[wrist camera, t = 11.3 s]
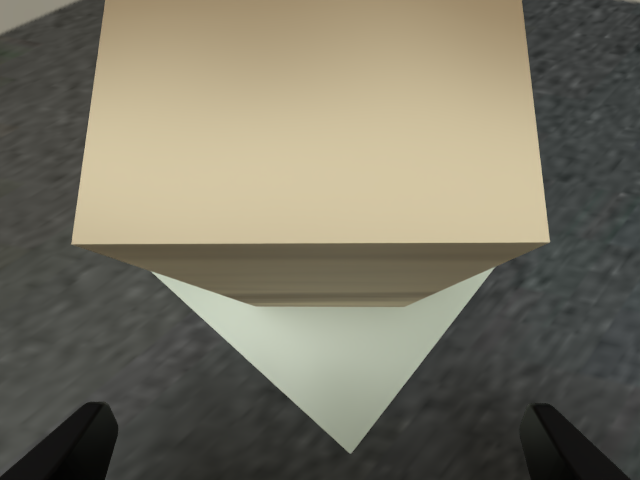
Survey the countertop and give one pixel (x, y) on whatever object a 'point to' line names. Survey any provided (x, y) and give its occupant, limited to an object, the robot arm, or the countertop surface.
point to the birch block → (312, 146)
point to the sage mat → (334, 349)
